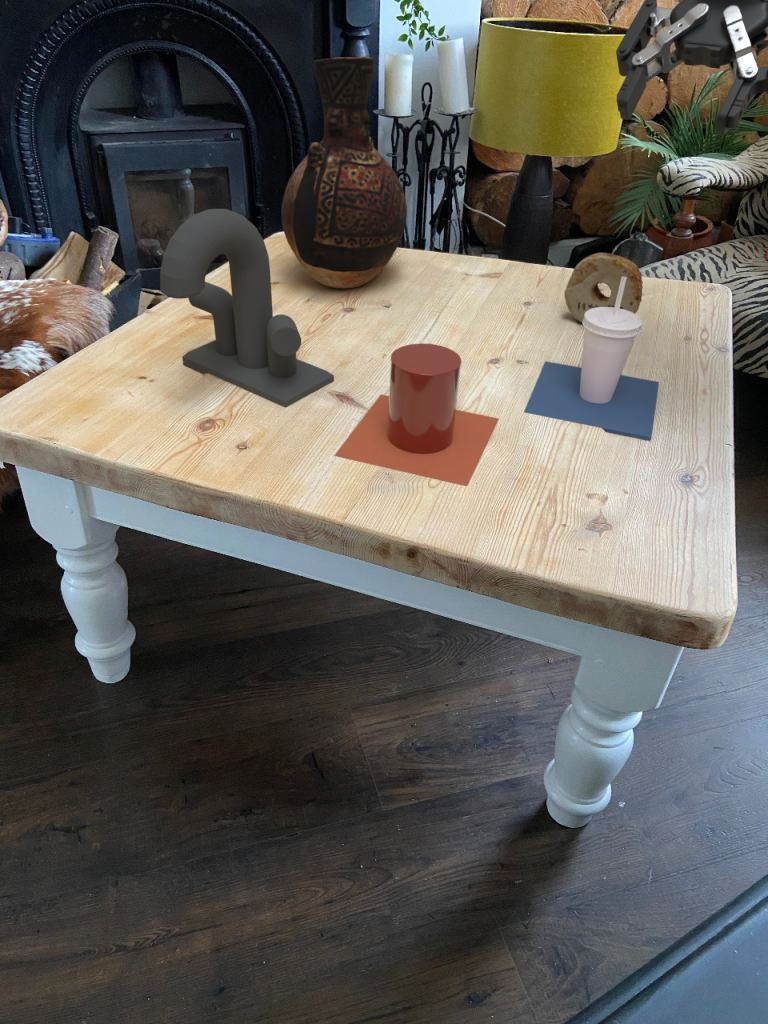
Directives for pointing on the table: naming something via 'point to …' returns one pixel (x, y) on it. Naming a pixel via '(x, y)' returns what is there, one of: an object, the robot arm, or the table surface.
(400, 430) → the canister
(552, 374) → the blue mat
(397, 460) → the terracotta mat
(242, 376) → the faucet
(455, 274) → the table surface
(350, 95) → the ceramic vessel
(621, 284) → the smoothie
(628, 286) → the stone disc
